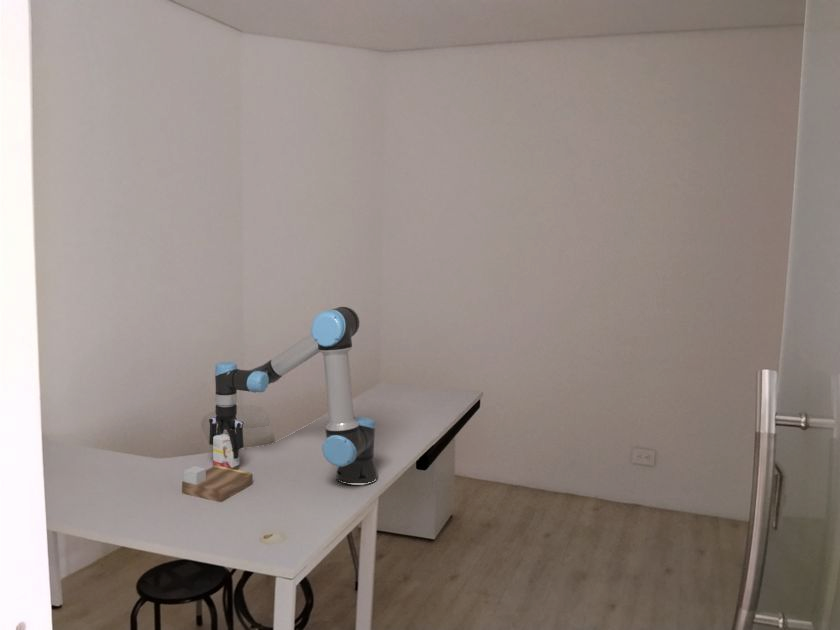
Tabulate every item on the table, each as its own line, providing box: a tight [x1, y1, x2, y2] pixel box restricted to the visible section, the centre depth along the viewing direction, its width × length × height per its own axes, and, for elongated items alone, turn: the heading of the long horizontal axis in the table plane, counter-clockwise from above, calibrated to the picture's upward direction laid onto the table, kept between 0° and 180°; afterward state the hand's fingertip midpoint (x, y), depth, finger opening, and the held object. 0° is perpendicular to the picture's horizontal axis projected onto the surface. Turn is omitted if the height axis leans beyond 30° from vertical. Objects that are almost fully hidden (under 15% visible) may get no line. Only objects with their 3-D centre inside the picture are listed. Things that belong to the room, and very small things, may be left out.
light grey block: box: [183, 465, 207, 485], centre depth 247 cm, size 5×5×4 cm
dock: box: [181, 465, 254, 503], centre depth 251 cm, size 16×18×4 cm
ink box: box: [212, 432, 240, 468], centre depth 267 cm, size 9×5×12 cm, turn 142°
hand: (226, 464), depth 268 cm, fingers closed on ink box, 6 cm apart
